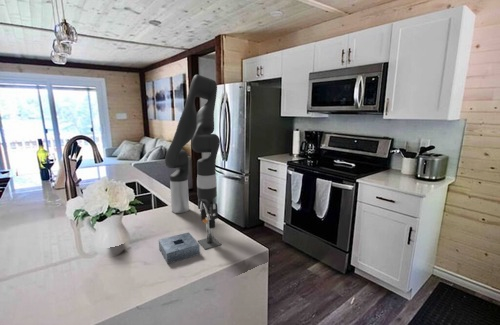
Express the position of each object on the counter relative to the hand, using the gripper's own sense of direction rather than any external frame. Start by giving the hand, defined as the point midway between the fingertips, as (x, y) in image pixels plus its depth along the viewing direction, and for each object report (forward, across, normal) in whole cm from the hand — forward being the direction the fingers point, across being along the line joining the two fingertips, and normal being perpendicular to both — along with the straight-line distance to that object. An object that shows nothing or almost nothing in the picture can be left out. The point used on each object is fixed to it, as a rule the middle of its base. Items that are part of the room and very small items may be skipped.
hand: (207, 224), depth 105 cm
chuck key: (+8, 0, -1) cm, 8 cm away
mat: (+8, 0, 0) cm, 8 cm away
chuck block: (+8, 0, +12) cm, 15 cm away
